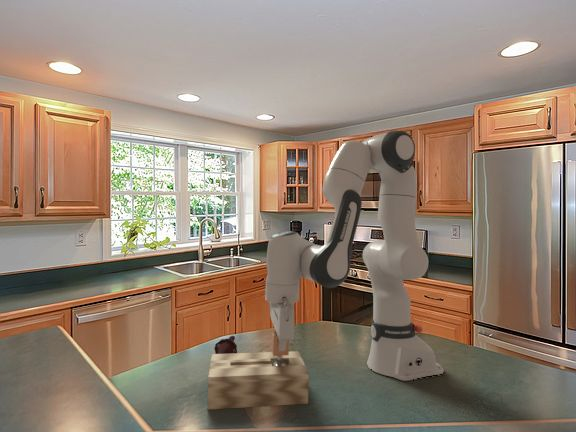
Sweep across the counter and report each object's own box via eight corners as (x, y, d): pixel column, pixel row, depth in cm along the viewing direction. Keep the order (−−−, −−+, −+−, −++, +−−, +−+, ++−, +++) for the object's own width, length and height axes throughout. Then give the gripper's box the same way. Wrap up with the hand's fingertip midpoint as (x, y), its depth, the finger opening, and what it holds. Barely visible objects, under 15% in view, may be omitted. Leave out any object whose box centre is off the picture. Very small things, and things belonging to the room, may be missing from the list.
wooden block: (285, 364, 92) (286, 330, 93) (288, 370, 88) (289, 335, 89) (270, 364, 92) (271, 331, 92) (272, 371, 88) (273, 336, 88)
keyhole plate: (297, 377, 98) (298, 351, 98) (308, 403, 84) (308, 372, 84) (211, 381, 94) (212, 354, 94) (207, 409, 80) (208, 377, 80)
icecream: (235, 349, 102) (245, 336, 116) (211, 341, 102) (224, 330, 117) (228, 372, 101) (239, 357, 116) (204, 364, 102) (218, 350, 117)
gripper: (301, 302, 81) (299, 362, 80) (288, 286, 101) (286, 333, 101) (274, 302, 80) (272, 362, 79) (266, 286, 100) (264, 334, 100)
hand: (280, 346), depth 90 cm, fingers closed on wooden block, 4 cm apart
